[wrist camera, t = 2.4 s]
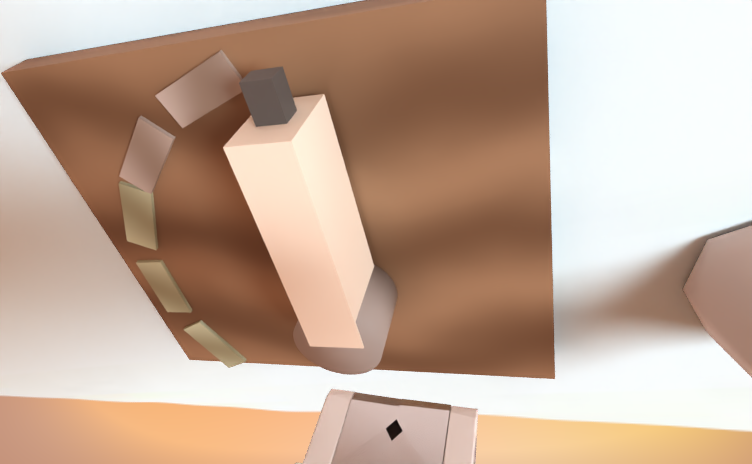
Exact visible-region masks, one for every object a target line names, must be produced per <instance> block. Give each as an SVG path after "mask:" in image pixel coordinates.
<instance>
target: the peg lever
mask: <svg viewBox="0 0 752 464" xmlns="http://www.w3.org/2000/svg"><path fill="white" fill-rule="evenodd" d="M239 85H240V87H241V90H242V93H243V95H244V98H245V100H246V103H247V105H248V108H249V111H250V113H251V116H250V117H249V118H248V119H247V121H246V122H245V123H244V124H243V125H242V126H241V127H240V129H239V130H238V131H237V132H236V133H235V134H234V135H233V136H232V138H231V139H230V140H229V141H228V142H227V143H226V144H225V146H224V147H223V149H224V151H225V153H226V156H227V158H228V160H229V163H230V165H231V167H232V169H233V172H234V174H235V176H236V179H237V181H238V183H239V185H240V188H241V190H242V192H243V195H244V197H245V199H246V201H247V204H248V206H249V208H250V211H251V213H252V215H253V217H254V220H255V222H256V224H257V226H258V229H259V231H260V233H261V236H262V238H263V240H264V242H265V245H266V247H267V249H268V252H269V254H270V256H271V258H272V261H273V263H274V265H275V268H276V270H277V272H278V274H279V277H280V279H281V281H282V284H283V286H284V288H285V290H286V293H287V295H288V297H289V300H290V302H291V304H292V306H293V309H294V311H295V313H296V316H297V318H298V321H297V323H296V326H295V328H294V331H293V338H294V342H295V344H296V346H297V348H298V349H299V351H300V352H301V353H302V354H303V355H304V356H305V357H306V358H307V359H308V360H310V361H311V362H313V363H314V364H316V365H318V366H320V367H322V368H324V369H326V370H329V371H332V372H336V373H341V374H361V373H365V372H368V371H370V370H372V369H374V368H375V367H376V366H377V365H378V364H379V363H380V361H381V358H382V354H383V350H384V347H385V343H386V339H387V335H388V332H389V328H390V324H391V320H392V317H393V313H394V309H395V305H396V302H397V297H398V293H397V288H396V285H395V283H394V282H393V280H392V279H391V277H390V276H389V275H388V274H387V273H386V272H385V271H384V270H382V269H381V268H379V267H378V266H376V265H374V264H373V260H372V257H371V253H370V250H369V247H368V243H367V240H366V236H365V233H364V229H363V226H362V222H361V219H360V215H359V212H358V209H357V205H356V202H355V198H354V195H353V191H352V188H351V184H350V181H349V177H348V174H347V171H346V167H345V164H344V160H343V157H342V153H341V150H340V146H339V143H338V139H337V136H336V133H335V129H334V126H333V122H332V119H331V115H330V112H329V108H328V105H327V101H326V98H325V95H324V94H319V95H311V96H302V97H294V98H293V96H292V93H291V90H290V87H289V84H288V81H287V78H286V75H285V72H284V69H283V66H282V67H275V68H268V69H261V70H254V71H250V72H249V73H248V74H247V75H246V76H245V77H244V78H243V79H242V80H241V81H240V82H239Z"/></svg>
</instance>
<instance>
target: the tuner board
mask: <svg viewBox="0 0 752 464" xmlns="http://www.w3.org/2000/svg"><path fill="white" fill-rule="evenodd" d="M282 66H283V69H284V72H285V75H286V78H287V81H288V84H289V87H290V90H291V93H292V96H293V98H294V97H302V96H311V95H319V94H324V95H325V98H326V101H327V105H328V108H329V112H330V115H331V119H332V122H333V126H334V129H335V133H336V136H337V139H338V143H339V146H340V150H341V153H342V157H343V160H344V164H345V167H346V171H347V174H348V177H349V181H350V184H351V188H352V191H353V195H354V198H355V202H356V205H357V209H358V212H359V215H360V219H361V222H362V226H363V229H364V233H365V236H366V240H367V243H368V247H369V250H370V253H371V257H372V260H373V264H374V265H376V266H378V267H379V268H381V269H382V270H384V271H385V272H386V273H387V274H388V275H389V276H390V277H391V279H392V280H393V282H394V283H395V285H396V288H397V293H398V297H397V302H396V305H395V309H394V313H393V317H392V320H391V324H390V328H389V332H388V335H387V339H386V343H385V347H384V350H383V354H382V358H381V361H380V363H379V364H378V365H377V366H376V367H375V368H374V369H377V370H396V371H415V372H434V373H453V374H472V375H491V376H510V377H529V378H549V379H555V362H554V319H553V276H552V233H551V189H550V146H549V103H548V60H547V17H546V0H364V1H359V2H353V3H347V4H341V5H336V6H330V7H324V8H319V9H313V10H307V11H301V12H296V13H290V14H284V15H279V16H273V17H267V18H262V19H256V20H250V21H244V22H239V23H233V24H227V25H222V26H216V27H210V28H204V29H199V30H193V31H187V32H182V33H176V34H170V35H164V36H159V37H153V38H147V39H142V40H136V41H130V42H125V43H119V44H113V45H107V46H102V47H96V48H90V49H85V50H79V51H73V52H67V53H62V54H56V55H50V56H45V57H39V58H33V59H27V60H25V61H23V62H21V63H19V64H17V65H15V66H13V67H11V68H10V69H8V70H6V71H4V72H2V73H1V74H2V75H3V77H4V78H5V80H6V81H7V83H8V84H9V86H10V87H11V89H12V90H13V92H14V94H15V95H16V97H17V98H18V100H19V101H20V103H21V104H22V106H23V107H24V109H25V110H26V112H27V113H28V115H29V116H30V118H31V119H32V121H33V122H34V124H35V125H36V127H37V128H38V130H39V132H40V133H41V135H42V136H43V138H44V139H45V141H46V142H47V144H48V145H49V147H50V148H51V150H52V151H53V153H54V154H55V156H56V157H57V159H58V160H59V162H60V163H61V165H62V166H63V168H64V170H65V171H66V173H67V174H68V176H69V177H70V179H71V180H72V182H73V183H74V185H75V186H76V188H77V189H78V191H79V192H80V194H81V195H82V197H83V198H84V200H85V201H86V203H87V204H88V206H89V208H90V209H91V211H92V212H93V214H94V215H95V217H96V218H97V220H98V221H99V223H100V224H101V226H102V227H103V229H104V230H105V232H106V233H107V235H108V236H109V238H110V239H111V241H112V243H113V244H114V246H115V247H116V249H117V250H118V252H119V253H120V255H121V256H122V258H123V259H124V261H125V262H126V264H127V265H128V267H129V268H130V270H131V271H132V273H133V274H134V276H135V277H136V279H137V281H138V282H139V284H140V285H141V287H142V288H143V290H144V291H145V293H146V294H147V296H148V297H149V299H150V300H151V302H152V303H153V305H154V306H155V308H156V309H157V311H158V312H159V314H160V315H161V317H162V319H163V320H164V322H165V323H166V325H167V326H168V328H169V329H170V331H171V332H172V334H173V335H174V337H175V338H176V340H177V341H178V343H179V344H180V346H181V347H182V349H183V350H184V352H185V354H186V355H187V357H188V358H189V360H205V361H221V362H223V363H224V364H225V365H226V366H227V367H228V368H230V367H233V366H235V365H238V364H241V363H262V364H281V365H300V366H318V365H316V364H314V363H313V362H311V361H310V360H308V359H307V358H306V357H305V356H304V355H303V354H302V353H301V352H300V351H299V349H298V348H297V346H296V344H295V342H294V338H293V331H294V328H295V326H296V323H297V321H298V318H297V316H296V313H295V311H294V309H293V306H292V304H291V302H290V300H289V297H288V295H287V293H286V290H285V288H284V286H283V284H282V281H281V279H280V277H279V274H278V272H277V270H276V268H275V265H274V263H273V261H272V258H271V256H270V254H269V252H268V249H267V247H266V245H265V242H264V240H263V238H262V236H261V233H260V231H259V229H258V226H257V224H256V222H255V220H254V217H253V215H252V213H251V211H250V208H249V206H248V204H247V201H246V199H245V197H244V195H243V192H242V190H241V188H240V185H239V183H238V181H237V179H236V176H235V174H234V172H233V169H232V167H231V165H230V163H229V160H228V158H227V156H226V153H225V151H224V149H223V147H224V146H225V144H226V143H227V142H228V141H229V140H230V139H231V138H232V136H233V135H234V134H235V133H236V132H237V131H238V130H239V129H240V127H241V126H242V125H243V124H244V123H245V122H246V121H247V119H248V118H249V117H250V116H251V113H250V111H249V108H248V105H247V103H246V100H245V98H244V95H243V93H242V90H241V87H240V85H239V82H240V81H241V80H242V79H243V78H244V77H245V76H246V75H247V74H248V73H249V72H250V71H254V70H261V69H268V68H275V67H282Z"/></svg>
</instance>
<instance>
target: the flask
mask: <svg viewBox="0 0 752 464" xmlns="http://www.w3.org/2000/svg"><path fill="white" fill-rule="evenodd" d="M683 291H684V293H685V295H686V296H687V298H688V300H689V302H690V304H691V305H692V307H693V309H694V311H695V312H696V314H697V316H698V318H699V320H700V321H701V323H702V325H703V327H704V328H705V330H706V331H707V332H708V333H709V334H710V336H711V337H712V338H713V339H714V340H715V341H716V342H717V343H718V344H719V345H720V346H721V347H722V348H723V349H724V350H725V351H726V352H727V353H728V354H729V355H730V356H731V357H732V358H733V359H734V360H735V361H736V362H737V363H738V364H739V365H740V366H741V367H742V368H743V369H744V370H745V371H746V372H747V373H748V374H749V375H750V376H751V377H752V225H751V226H748V227H745V228H742V229H739V230H736V231H733V232H730V233H726V234H723V235H720V236H717V237H714V238H711V239H708V240H707V242H706V244H705V246H704V248H703V250H702V252H701V254H700V256H699V258H698V260H697V262H696V264H695V266H694V268H693V270H692V272H691V274H690V276H689V278H688V280H687V282H686V284H685V286H684V288H683Z"/></svg>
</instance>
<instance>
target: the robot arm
mask: <svg viewBox="0 0 752 464" xmlns="http://www.w3.org/2000/svg"><path fill="white" fill-rule="evenodd" d="M477 419H478V409H472V408H465V407H457V406H451V405H447V404H439V403H431V402H422V401H414V400H406V399H396V398H389V397H382V396H376V395H369V394H362V393H356V392H351V391H344V390H336V389H331V391H330V392H329V394H328V395H327V397H326V399H325V402H324V405H323V408H322V411H321V414H320V416H319V419H318V422H317V425H316V428H315V431H314V433H313V436H312V439H311V442H310V445H309V448H308V450H307V453H306V456H305V459H304V462H303V463H295V464H475V459H476V440H477Z"/></svg>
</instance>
